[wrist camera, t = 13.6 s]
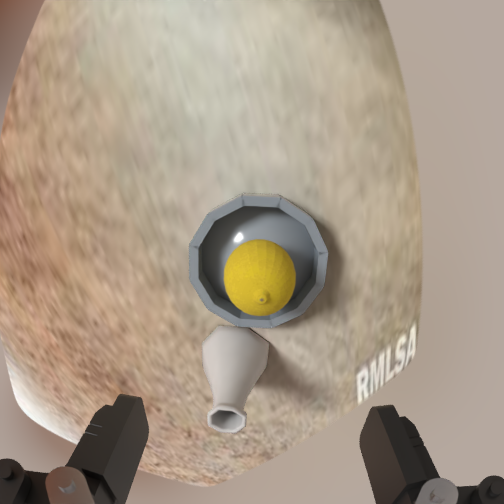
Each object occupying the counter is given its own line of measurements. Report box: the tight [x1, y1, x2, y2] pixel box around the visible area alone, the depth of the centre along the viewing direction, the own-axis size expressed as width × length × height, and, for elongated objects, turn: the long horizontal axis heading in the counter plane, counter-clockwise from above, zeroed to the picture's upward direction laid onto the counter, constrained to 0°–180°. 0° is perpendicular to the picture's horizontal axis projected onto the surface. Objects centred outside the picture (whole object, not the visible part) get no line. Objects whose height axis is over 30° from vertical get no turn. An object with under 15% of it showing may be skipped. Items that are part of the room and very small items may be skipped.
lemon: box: [224, 239, 296, 316], centre depth 24 cm, size 6×6×8 cm
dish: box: [189, 193, 328, 328], centre depth 27 cm, size 12×12×2 cm
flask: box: [202, 326, 269, 433], centre depth 27 cm, size 7×7×10 cm
